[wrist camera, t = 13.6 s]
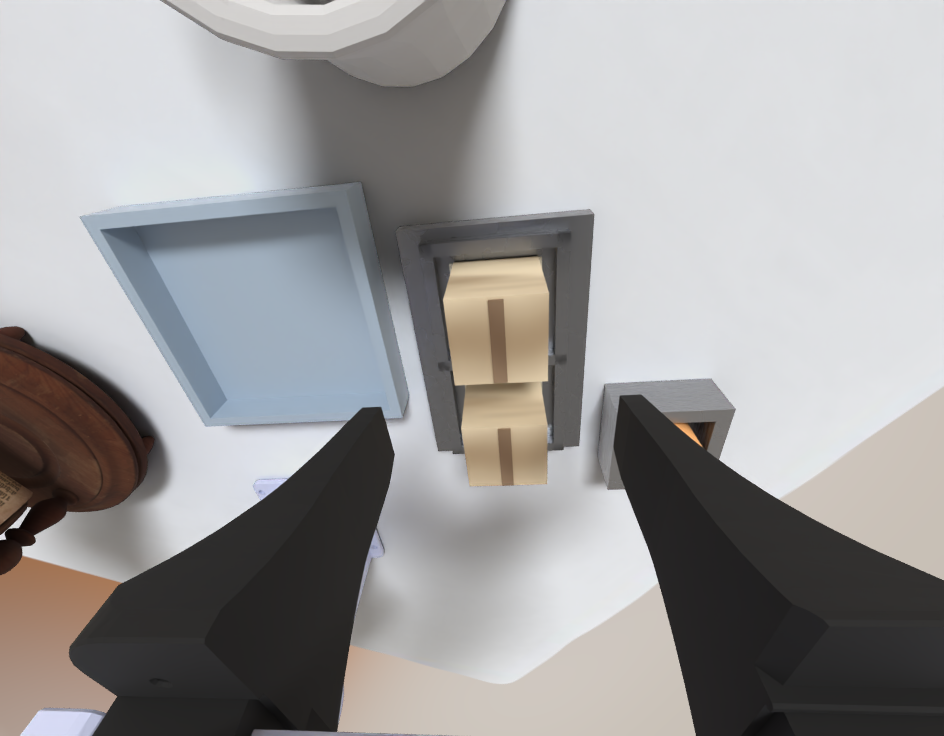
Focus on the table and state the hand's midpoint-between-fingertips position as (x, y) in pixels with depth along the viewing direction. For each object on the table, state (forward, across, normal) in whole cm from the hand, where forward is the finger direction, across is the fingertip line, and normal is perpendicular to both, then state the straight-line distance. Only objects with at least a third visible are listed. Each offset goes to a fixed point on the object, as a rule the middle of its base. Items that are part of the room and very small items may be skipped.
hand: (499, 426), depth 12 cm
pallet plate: (+10, 0, +3) cm, 11 cm away
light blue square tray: (+10, +12, 0) cm, 16 cm away
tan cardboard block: (+9, 0, 0) cm, 9 cm away
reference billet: (+9, 0, +6) cm, 11 cm away
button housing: (+10, -9, +9) cm, 16 cm away
